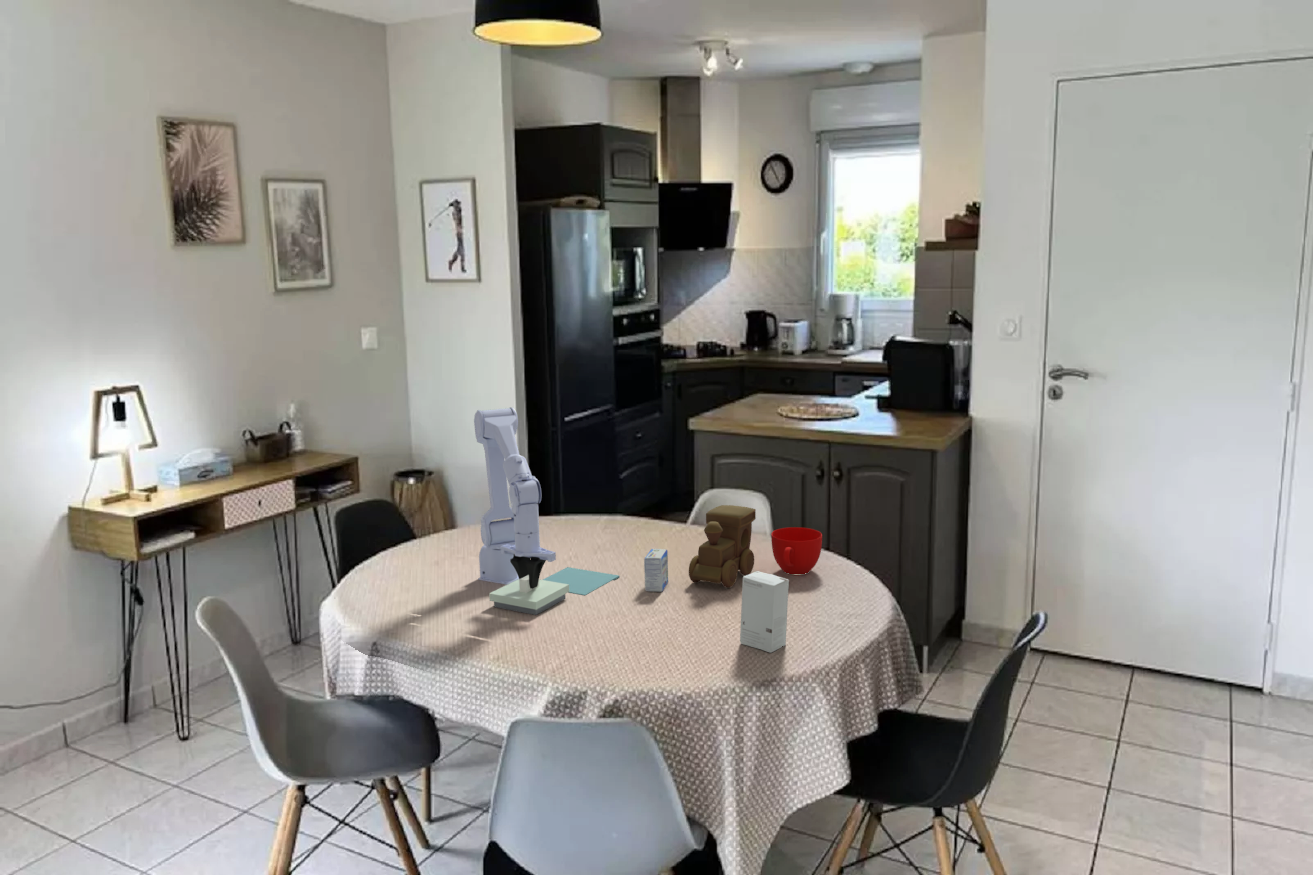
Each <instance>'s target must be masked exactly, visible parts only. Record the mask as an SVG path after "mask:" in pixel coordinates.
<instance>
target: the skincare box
mask: <svg viewBox="0 0 1313 875" xmlns="http://www.w3.org/2000/svg"><path fill="white" fill-rule="evenodd" d="M789 582H790V581H789V579H788V578H785V577H782V576H777V575H776V574H771V573H766V572H762V571H759V570H757V571H756V570H755V571H754V572H751V573H750V574H749V575H746V576H744V575H743V577H742V586H741V588H742V590H741V591H742V592H741V613H740V631H739V632H740V633H739V643H740V644H741V645H743V646H747V647H751V648H755V649H757V650H758V649H759V650H761V651H765V652H768V653H771V654H772V653H774V652H776V651H777V650H780V649H781V648H783V647H785V646H786V644H787V643H786V642H787V625H788V608H789V607H788V605H789V603H788V601H789V584H790V583H789ZM782 646H783V647H782Z"/></svg>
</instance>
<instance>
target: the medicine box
mask: <svg viewBox="0 0 1313 875" xmlns="http://www.w3.org/2000/svg"><path fill="white" fill-rule="evenodd" d="M668 555H669V554H668V549H665V548H651V549H650V550H649V552H648V553H647V554H646V556H645V557H644V559H643V569H644V571H643V572H644V589H645V592H651V593H653V592H654V593H655V592H657V593H663V591H664V589H665V588H666V586H667V584H668V583H669V563H668V562H669V558H668V557H669V556H668Z"/></svg>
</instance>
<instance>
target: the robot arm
mask: <svg viewBox="0 0 1313 875" xmlns="http://www.w3.org/2000/svg"><path fill="white" fill-rule="evenodd" d="M473 424H474V425H473V426H474V432H475V433H474V435H475V439H476V443H479V444H482V446H483V450H484V457H485V467H486V477H487V486H488V494H489V503H490V504H489V505H490V508H489V509H488V510H487V511H486V512H485V513H484V514H483V515H481V517H480V536H481V538H480V539H481V541H482V542H481V543H483V545H482V546H481V548H480V550H479V556H478V561H479V562H478V564H479V577H478V580H479V581H484V582H488V583H489V582H490V583H495V584H496V583H497V584H502V585H505V586H506V585H508V584H510V583H512V582H514V581H516V580H518V579H521V578H523V577H525V576H527V575H529V584H530V588H531V589H533V588H535V587H537V586H538V581H539V579H540V575H541V573H542V570H543V567H544V565H545V563H546V561H547V562H549V563H553V562H554V561H556V559H557V558H556V556H557V554H556V551H553V550H549V549H548V548H544V547H541V542H540V522H539V521H540V520H539V519H540V518H539V517H540V516H539V504H540V503H541V501H542V498H543V497H542V488H541V484H540V481H539V480H538V478H536V476H535V475H532V471H531V469H530V467H529V464H528V461H527V459H526V457H525V456H523V455H520V451H519V448H518V443H517V439H516V434H517V430H518V427H519V417H518V413H517V411H516V409H515V408H514V407H513V406H512V407H508V408H507V407H505V408H496V409H495V408H494V409H484V410H480V409H478V410H476V412H475V414H474V419H473ZM508 485H509V488H508ZM510 505H511V506H510Z"/></svg>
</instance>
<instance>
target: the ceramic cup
mask: <svg viewBox="0 0 1313 875" xmlns="http://www.w3.org/2000/svg"><path fill="white" fill-rule="evenodd" d="M770 537H771V549H772V550H771V551H772V555H773V557H774V560H775V562H776V564H777V565H778V566H779V567H780V569H781V570H782V571H783V573H784V572H786V573H789V574H805V573H808V572H809V571H812V570H813V569H814V567H815V566H816V564H817V563H818V561H819V558H820V556H821V551H822V546H823V545H822V544H823V534H822V532H821V531H819V530H817V529H814V528H808V527H800V526H799V527H796V526H794V527H792V526H791V527H782V528H778V529H775V530H773V531H772V532H771V534H770ZM786 573H785V574H786ZM809 573H810V572H809ZM809 573H808V574H809ZM789 574H788V575H789ZM805 575H806V574H805Z"/></svg>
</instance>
